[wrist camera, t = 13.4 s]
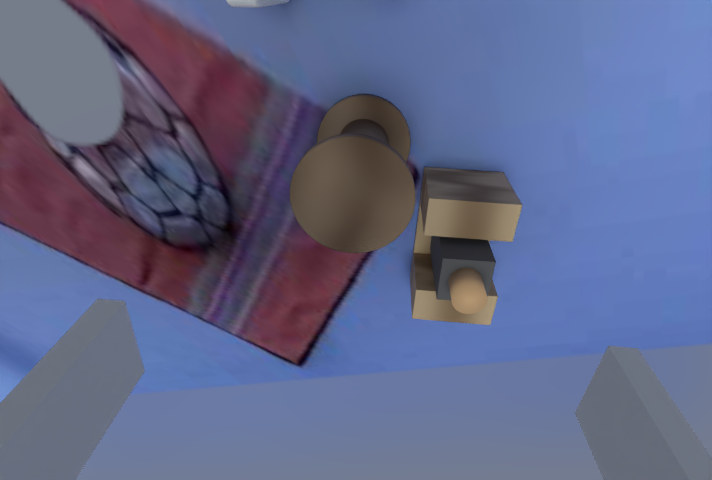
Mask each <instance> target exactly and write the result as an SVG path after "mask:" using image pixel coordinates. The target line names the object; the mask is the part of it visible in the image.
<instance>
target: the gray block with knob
mask: <svg viewBox="0 0 712 480" xmlns="http://www.w3.org/2000/svg"><path fill="white" fill-rule="evenodd" d="M430 252H431V260H432V268H433V276H434V283H435V291H436V299H438V300H451V301H452V305H453V307H454V308H455V309H456V310H457V311H458V312H460V313H464V314H473V313H477V312H479V311H481V310H482V309H483V308H484V307H485V306H486V304H487V301H488V298H487V297H488V293H489V289H490V284H491V280H492V276H493V271H494V267H495V263H496V261H495V259H494V256H493V253H492V250H491V248H490V245H489V242H488V240H481V239H468V238H455V237H441V236H432V237H431V244H430Z"/></svg>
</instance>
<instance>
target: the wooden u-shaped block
mask: <svg viewBox="0 0 712 480" xmlns="http://www.w3.org/2000/svg"><path fill="white" fill-rule="evenodd" d="M521 208H522V204H521V202H520V200H519V198H518V197H517V195H516V193H515V191H514V190H513V188H512V186H511V184H510V183H509V181H508V179H507V177H506V176H505V174H504V172H492V171H477V170H462V169H447V168H433V167H424V173H423V181H422V188H421V196H420V204H419V211H418V219H417V227H416V235H415V242H414V250H413V258H412V265H411V273H410V284H411V305H412V318H413V319H425V320H437V321H448V322H460V323H472V324H484V325H490V324H491V320H492V316H493V313H494V309H495V305H496V301H497V298H498V296H497V292H496V289H495V286H494V283H493V280H491V284H490V289H489V293H488V297H487V298H488V301H487V304H486V306H485V307H484V308H483V309H482V310H481V311H479V312H477V313H473V314H464V313H460V312H458V311H457V310H456V309H455V308H454V307H453V305H452V301H451V300H438V299H436V291H435V283H434V276H433V268H432V260H431V252H430V244H431V237H432V236H441V237H455V238H468V239H481V240H488V242H489V241H490V240H494V241H508V242H513V238H514V234H515V231H516V227H517V223H518V219H519V216H520V212H521Z"/></svg>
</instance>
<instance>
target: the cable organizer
mask: <svg viewBox="0 0 712 480" xmlns="http://www.w3.org/2000/svg"><path fill="white" fill-rule="evenodd" d="M226 1H227V2H228V4H229V5H230V6H232V7H265V6H272V5H278V4H284V3H288V2H289V1H290V0H226Z"/></svg>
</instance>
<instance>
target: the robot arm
mask: <svg viewBox="0 0 712 480" xmlns="http://www.w3.org/2000/svg"><path fill="white" fill-rule="evenodd" d="M144 371H145V370H144V367H143V363H142V360H141V356H140V353H139V349H138V346H137V342H136V339H135V335H134V331H133V328H132V324H131V321H130V317H129V314H128V310H127V307H126V303H125V301H117V300H106V299H97V300H96V301H95V302H94V303H93V304H92V305H91V306H90V308H89V309H88V310H87V311H86V312H85V313H84V314H83V315H82V316H81V317H80V318H79V319H78V320H77V321H76V323H75V324H74V325H73V326H72V327H71V328H70V329H69V330H68V331H67V332H66V333H65V334H64V335H63V336H62V338H61V339H60V340H59V341H58V342H57V343H56V344H55V345H54V346H53V347H52V348H51V349H50V350H49V351H48V353H47V354H46V355H45V356H44V357H43V358H42V359H41V360H40V361H39V362H38V363H37V364H36V365H35V366H34V368H33V369H32V370H31V371H30V372H29V373H28V374H27V375H26V376H25V377H24V378H23V379H22V380H21V381H20V383H19V384H18V385H17V386H16V387H15V388H14V389H13V390H12V391H11V392H10V393H9V394H8V395H7V397H6V398H5V399H4V400H3V401H2V402H1V403H0V480H76V478H77V476H78V475H79V473H80V472H81V470H82V469H83V467H84V465H85V464H86V462H87V461H88V459H89V458H90V456H91V455H92V453H93V451H94V450H95V448H96V447H97V445H98V443H99V442H100V440H101V439H102V437H103V436H104V434H105V433H106V431H107V429H108V428H109V426H110V425H111V423H112V421H113V420H114V418H115V417H116V415H117V414H118V412H119V410H120V409H121V407H122V406H123V404H124V403H125V401H126V399H127V398H128V396H129V395H130V393H131V392H132V390H133V389H134V387H135V385H136V384H137V382H138V381H139V379H140V378H141V376H142V374H143V373H144ZM575 414H576V416H577V418H578V421H579V423H580V426H581V428H582V430H583V433H584V435H585V437H586V439H587V442H588V444H589V447H590V449H591V451H592V453H593V456H594V458H595V460H596V463H597V465H598V467H599V470H600V472H601V474H602V476H603V479H604V480H712V458H711V456H710V454H709V453H708V452H707V450H706V448H705V447H704V446H703V444H702V443H701V441H700V440H699V438H698V437H697V435H696V434H695V432H694V431H693V429H692V428H691V427H690V425H689V423H688V422H687V421H686V419H685V417H684V416H683V415H682V413H681V412H680V410H679V409H678V407H677V406H676V404H675V403H674V401H673V400H672V398H671V397H670V395H669V394H668V392H667V391H666V390H665V388H664V387H663V385H662V384H661V382H660V381H659V379H658V378H657V376H656V375H655V373H654V372H653V370H652V369H651V367H650V366H649V364H648V363H647V361H646V360H645V359H644V357H643V356H642V354H641V353H640V351H639V350H638V348H627V347H616V346H608V348H607V350H606V352H605V354H604V356H603V358H602V360H601V362H600V364H599V366H598V368H597V370H596V372H595V374H594V376H593V378H592V380H591V382H590V384H589V386H588V388H587V390H586V392H585V394H584V396H583V398H582V400H581V402H580V404H579V406H578V408H577V410H576V412H575Z"/></svg>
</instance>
